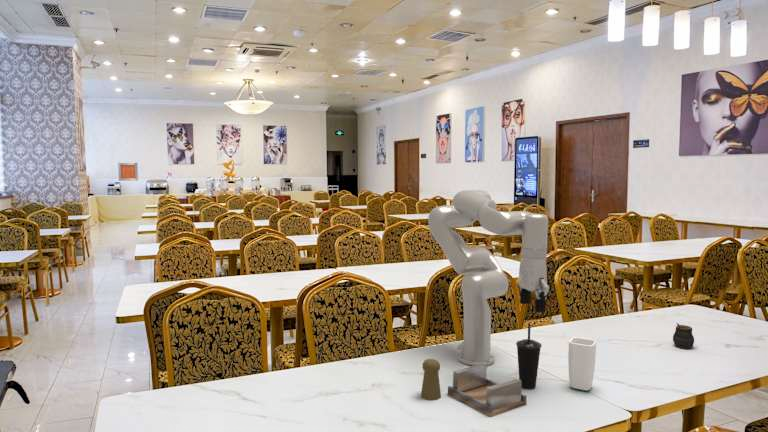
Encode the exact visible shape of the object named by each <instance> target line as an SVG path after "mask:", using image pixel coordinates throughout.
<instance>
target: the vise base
mask: <svg viewBox="0 0 768 432" xmlns="http://www.w3.org/2000/svg"><path fill="white" fill-rule="evenodd" d="M521 382H522V381H521V380H519V378H515V379H511V380H507V381H503V382H500V383H498V382H495V381H493V380H490V379H488V378H486V384H485V385H482V386H479V387H475V388H472V389H469V390H465V391H462V392H461V391H459V390H457V389H455V388H453V386H451V385H448V386H447V395H448V396H449V397H451V398H453V399H456V400H457V401H458V402H461V403H463V404H464V405H466V406H468V407H471V408H472V409H474V410H476V411H479V412H480V413H482V414H485V415H486V416H488V417H491V418H492V417H495V416H497V415H500V414H503V413H506V412H509V411H512V410H514V409H517V408H520V407H523V406H526V405H527V395H524V394H522V387H521Z"/></svg>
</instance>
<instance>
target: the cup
mask: <svg viewBox="0 0 768 432" xmlns="http://www.w3.org/2000/svg"><path fill="white" fill-rule="evenodd" d="M596 352H597V341H596V340H594V339H591V338H586V337H579V336H574V337H571V339H569V340H568V359H567V360H568V379H569V381H568V382H569V387H571V388H572V389H574V390H578V391H583V392H588V391H590V390H591V388H592V386H593V381H594V376H595V375H594V374H595V366H596V354H597V353H596Z"/></svg>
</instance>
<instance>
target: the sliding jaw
mask: <svg viewBox="0 0 768 432" xmlns="http://www.w3.org/2000/svg"><path fill="white" fill-rule="evenodd" d="M487 368H488V365H485V364H479V365H475V366H472V365H470V366H468V367H467V366H466V367H464V368H461V369H456V370H453V371H452V387H453V388H455V389H457V390H459V391H461V392H462V391H465V390H469V389H472V388H475V387H479V386H482V385H485V384H486V379H488V378H487V374H488V373H487V370H488V369H487Z"/></svg>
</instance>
